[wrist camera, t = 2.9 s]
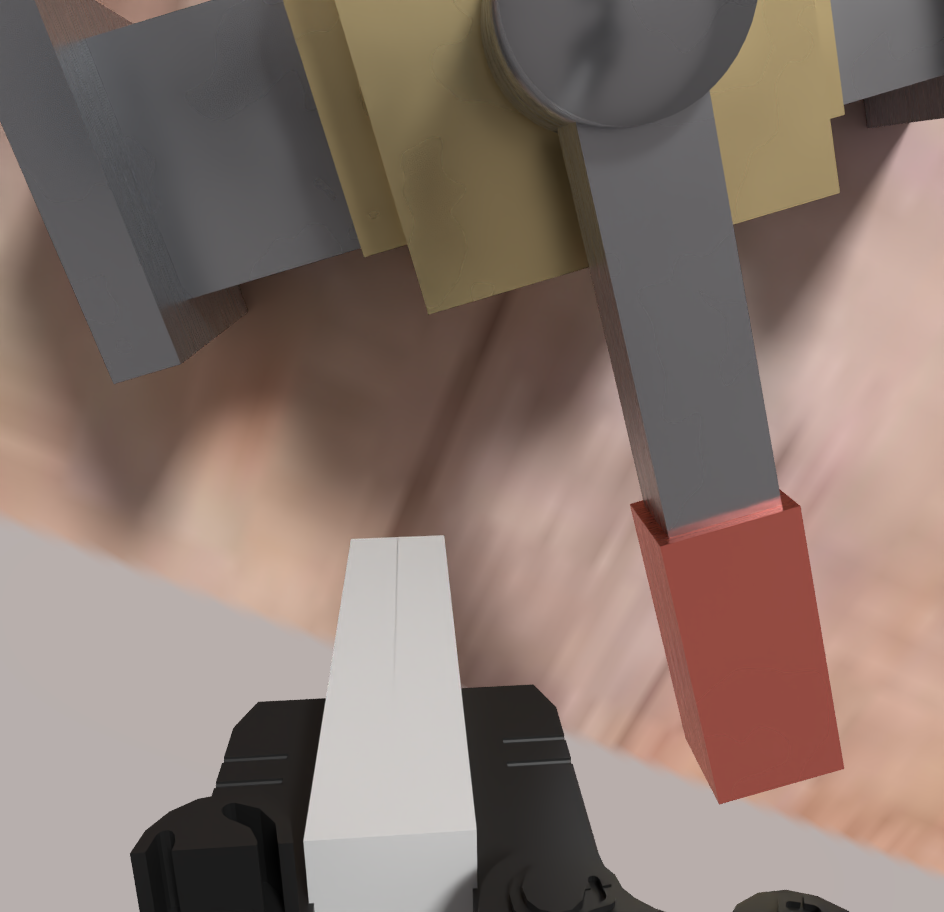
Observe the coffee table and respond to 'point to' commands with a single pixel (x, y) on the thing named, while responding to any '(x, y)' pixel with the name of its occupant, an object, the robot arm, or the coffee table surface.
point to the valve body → (373, 145)
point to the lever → (683, 366)
